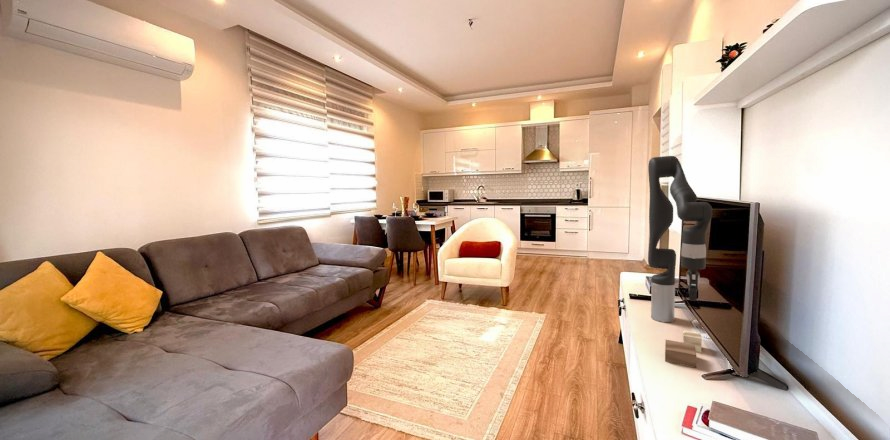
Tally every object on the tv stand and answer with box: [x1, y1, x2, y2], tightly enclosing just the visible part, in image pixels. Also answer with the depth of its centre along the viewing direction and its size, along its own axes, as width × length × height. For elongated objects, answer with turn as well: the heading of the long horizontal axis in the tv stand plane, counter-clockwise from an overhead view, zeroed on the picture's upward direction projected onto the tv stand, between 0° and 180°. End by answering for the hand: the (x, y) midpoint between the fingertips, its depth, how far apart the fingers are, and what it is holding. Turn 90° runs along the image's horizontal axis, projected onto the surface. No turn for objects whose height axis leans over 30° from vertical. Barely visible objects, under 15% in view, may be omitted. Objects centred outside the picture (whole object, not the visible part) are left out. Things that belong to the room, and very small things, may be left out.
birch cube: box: [682, 330, 703, 353], centre depth 132 cm, size 6×6×6 cm
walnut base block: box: [664, 339, 697, 368], centre depth 124 cm, size 9×9×4 cm
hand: (692, 297), depth 130 cm, fingers open, 8 cm apart
